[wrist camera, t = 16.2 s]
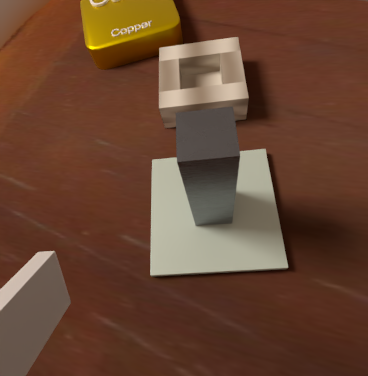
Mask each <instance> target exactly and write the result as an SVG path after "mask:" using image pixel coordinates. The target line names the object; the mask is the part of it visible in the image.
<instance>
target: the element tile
mask: <svg viewBox="0 0 368 376" xmlns="http://www.w3.org/2000/svg"><path fill="white" fill-rule="evenodd" d="M80 6H81V14H82V21H83V29H84V37H85V44H86V47H87V49H88V51H89V53H90V55H91V57H92V59H93V61H94V63H95V65H96V66H97V67H98V68H99V69H102V70H106V69H111V68H115V67H118V66H122V65H125V64H129V63H132V62H136V61H139V60H143V59H146V58H150V57H153V56H157V55H159V48H161V47H168V46H176V45H182V44H183V37H182V30H181V22H180V17H179V14H178V12H177V9H176V7H175V4H174V2H173V0H81V2H80Z"/></svg>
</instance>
